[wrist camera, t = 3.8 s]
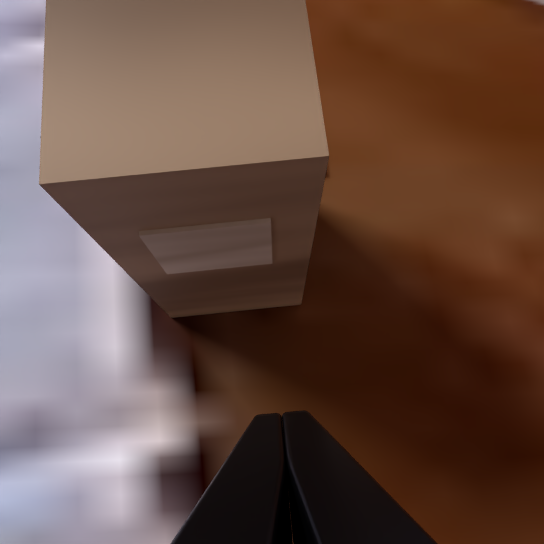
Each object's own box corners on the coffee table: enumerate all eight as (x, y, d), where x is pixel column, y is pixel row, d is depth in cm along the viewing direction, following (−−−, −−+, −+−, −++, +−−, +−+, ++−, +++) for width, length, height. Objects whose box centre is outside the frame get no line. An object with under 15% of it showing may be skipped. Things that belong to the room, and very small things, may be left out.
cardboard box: (301, 307, 17) (330, 161, 8) (171, 320, 17) (38, 189, 8) (286, 187, 19) (295, -63, 9) (166, 199, 19) (47, -41, 9)
